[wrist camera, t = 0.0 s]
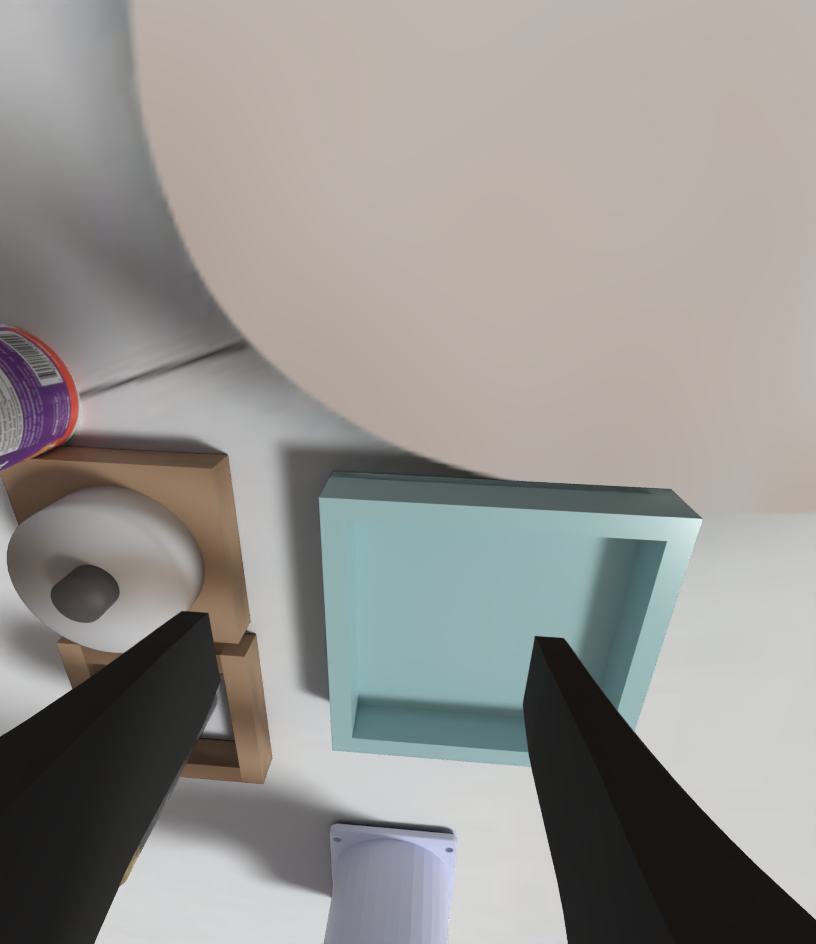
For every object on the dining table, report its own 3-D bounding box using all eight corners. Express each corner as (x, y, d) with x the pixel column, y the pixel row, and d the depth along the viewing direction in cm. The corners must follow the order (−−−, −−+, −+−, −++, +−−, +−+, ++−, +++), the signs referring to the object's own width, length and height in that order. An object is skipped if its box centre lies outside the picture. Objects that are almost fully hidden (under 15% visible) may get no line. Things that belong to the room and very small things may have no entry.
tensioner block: (272, 758, 27) (242, 844, 23) (118, 745, 28) (61, 827, 24) (232, 455, 20) (177, 503, 16) (20, 444, 20) (-88, 488, 16)
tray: (603, 727, 25) (620, 774, 22) (342, 707, 25) (332, 750, 23) (671, 489, 19) (702, 518, 17) (333, 471, 20) (318, 497, 17)
